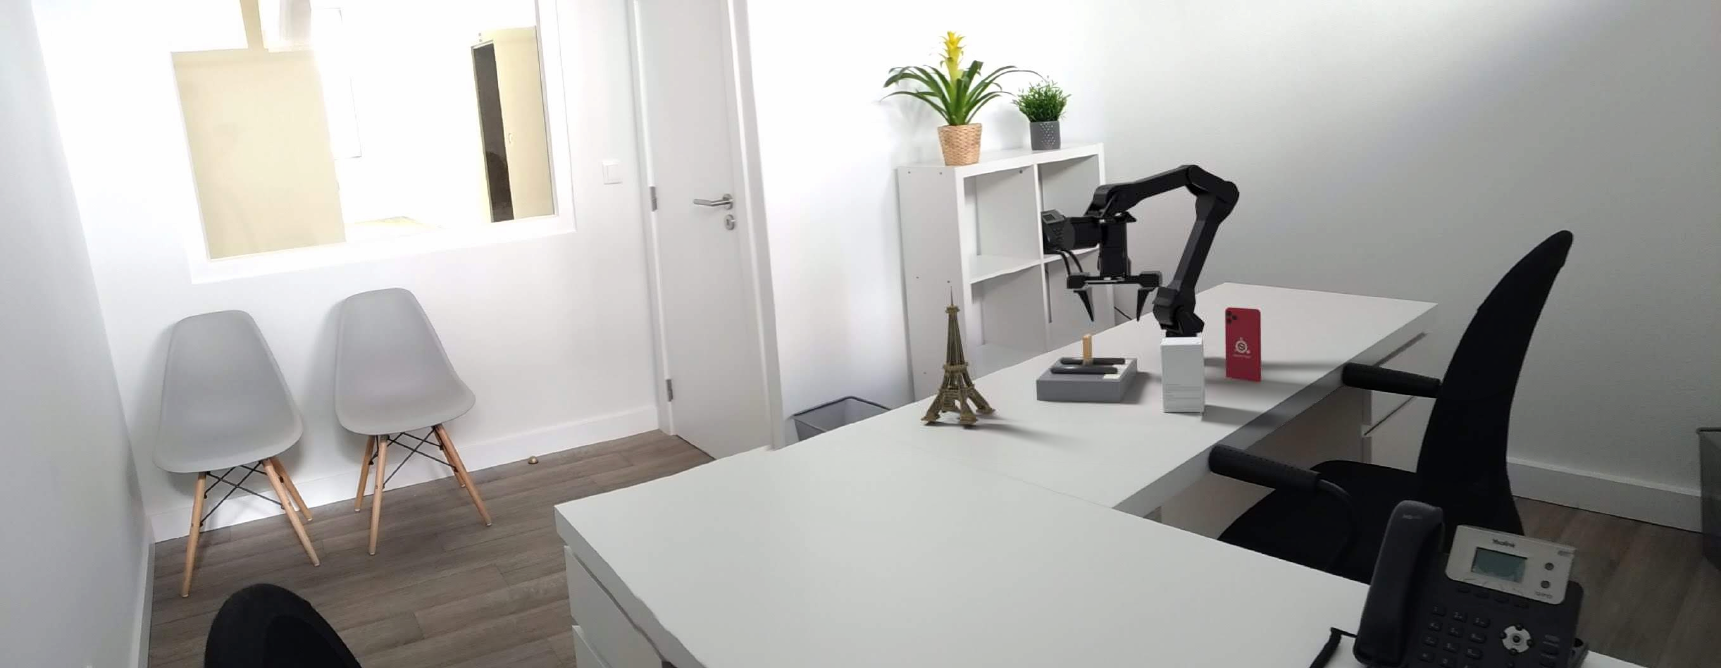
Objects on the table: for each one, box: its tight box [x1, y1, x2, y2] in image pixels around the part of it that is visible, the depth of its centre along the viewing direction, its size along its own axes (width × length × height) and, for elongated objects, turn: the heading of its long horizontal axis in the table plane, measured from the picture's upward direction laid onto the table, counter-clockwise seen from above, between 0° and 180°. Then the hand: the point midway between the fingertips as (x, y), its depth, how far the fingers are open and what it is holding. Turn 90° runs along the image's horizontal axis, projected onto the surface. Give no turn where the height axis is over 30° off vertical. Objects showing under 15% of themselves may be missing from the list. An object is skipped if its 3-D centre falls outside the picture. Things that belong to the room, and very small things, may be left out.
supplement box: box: [1159, 336, 1206, 413], centre depth 197 cm, size 7×7×13 cm
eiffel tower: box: [920, 287, 996, 425], centre depth 202 cm, size 11×11×25 cm
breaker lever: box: [1082, 333, 1094, 367], centre depth 217 cm, size 2×4×6 cm, turn 158°
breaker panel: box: [1035, 356, 1138, 403], centre depth 218 cm, size 16×22×5 cm
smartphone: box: [1224, 306, 1262, 383], centre depth 212 cm, size 7×1×15 cm, turn 42°
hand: (1115, 321), depth 224 cm, fingers open, 9 cm apart
